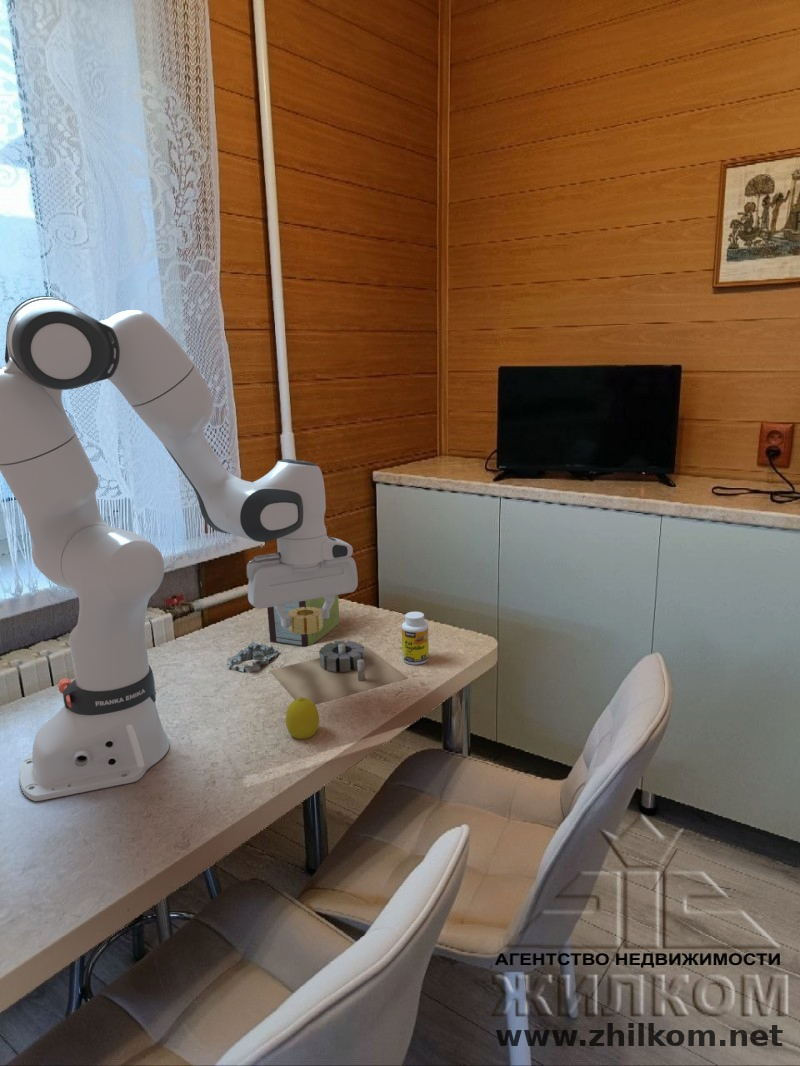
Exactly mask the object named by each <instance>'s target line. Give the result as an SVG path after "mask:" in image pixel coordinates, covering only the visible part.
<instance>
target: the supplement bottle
mask: <svg viewBox="0 0 800 1066" xmlns="http://www.w3.org/2000/svg"><path fill="white" fill-rule="evenodd" d="M404 617H405V618H404V622H403V623H401V649H402V651H401V652H402V653H401V656H402V661H403V662H404V663H406V664H408V665H412V666H414V665H415V666H418V665H422V664H425V663H426V662H428V660H429V656H430V655H429V654H430V653H429V624H428V622H427V621H425V614H424V613H423V612H421V611H409V612H407V613H406V614H405V615H404Z"/></svg>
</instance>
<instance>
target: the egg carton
mask: <svg viewBox="0 0 800 1066" xmlns="http://www.w3.org/2000/svg"><path fill="white" fill-rule="evenodd" d="M279 651H280V648H278V647H277V648H274V647H273V646H272V645H271V646H268V645H267V644H263V643H261V644H259V643H258V642H255V641H252V642H250V644H248V645H247V647H245V648H244V649H241V650H239V652H237V653H235V655H234V656H231V657H229V658H228V659H227V660H226V666H227V667H230V668H231V670H232V671H240V672H245V673H252V672H259V671H260V670H261V665H268V664H269V663H270V661H269V660H271V659H272V658H277V656H278V654H280V652H279ZM251 660H255V661H252V664H250V665H247V664H246V665H244V666H239V665H240V664H241V663H245V662H248V661H251ZM233 666H234V667H233Z"/></svg>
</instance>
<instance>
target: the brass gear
mask: <svg viewBox="0 0 800 1066" xmlns="http://www.w3.org/2000/svg"><path fill="white" fill-rule="evenodd" d="M288 615H289V616H290V617H291V618H292V621H291V623H292V626H289V627H288V628H289V630H290V631H291V632H292V633H295V634H305V633H306V634H311V633H316V632H317V631H320V630H321V629H322V628H323V614H322V611H321V610H320V609H319V608H317V609H316V608H314V607H306V608H305V607H301V608H296V609H294V610H291V611H290V612H288Z"/></svg>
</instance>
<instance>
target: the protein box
mask: <svg viewBox="0 0 800 1066" xmlns="http://www.w3.org/2000/svg"><path fill="white" fill-rule="evenodd" d="M324 603H325V599H324V598H317V599H312V600H306V601H301V602H295V603H290V604H285V610H282V611H283V612H284V614H285V615H288V612H290V611H291V610H294V609H296V608H301V607H305V608H306V607H314V608H316V609H317V608H319V609H320V608H322V607H323V605H324ZM266 610H267V619H268V632H269V642H271V643H276V644H277V643H278V644H283V645H288V646H289V645H290V646H296V647H297V646H298V647H302V648H307V647H311V646H312V645H314V644H315V643H316V642H317V641H319V640H320V639H322V637H324V636H325V635H327V634H328V633H329V632H331V630H333V629H334V628H336V627H335V626H336V625H337V626H338V625H339V624H340V605H339V595H335V601H334V603H333V605H332V607H331V609H330V610H329V614H330V618H329V619H324V620H323V628H322V629H321V630H320V631H317V632H316V633H311V634H306V633H305V634H295V633H292V632H291V631H290V630H289V628H288V627H283V626H282V625H281V617H280V616H279V614H278V613H277V611H276V610H275V609H274V606H273V607H268V608H267V609H266Z"/></svg>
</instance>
